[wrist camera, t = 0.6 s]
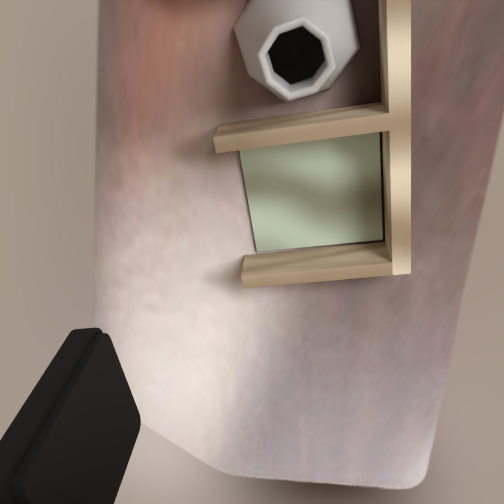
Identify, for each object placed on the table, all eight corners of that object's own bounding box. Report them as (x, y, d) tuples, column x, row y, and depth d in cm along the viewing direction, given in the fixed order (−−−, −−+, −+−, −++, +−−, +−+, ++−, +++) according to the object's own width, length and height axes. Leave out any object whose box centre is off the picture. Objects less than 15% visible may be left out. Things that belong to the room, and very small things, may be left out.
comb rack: (186, -53, 27) (174, -56, 24) (399, -95, 25) (410, -104, 23) (246, 266, 37) (243, 288, 34) (402, 251, 35) (410, 273, 32)
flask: (282, 121, 31) (275, 175, 23) (212, 23, 29) (175, 40, 20) (381, 50, 29) (417, 80, 20) (314, -65, 26) (322, -88, 17)
